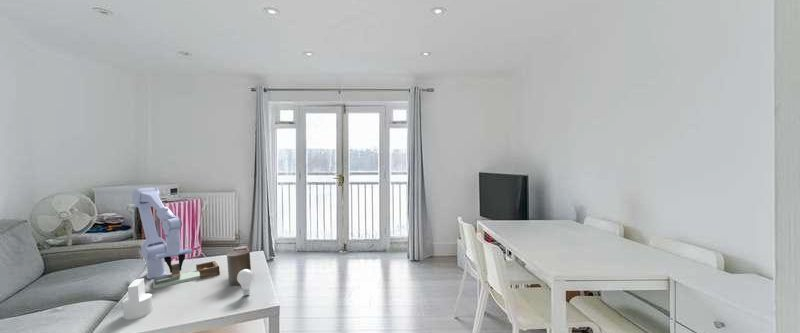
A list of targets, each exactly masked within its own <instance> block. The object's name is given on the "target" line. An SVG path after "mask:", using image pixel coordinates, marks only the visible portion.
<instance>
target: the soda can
mask: <svg viewBox="0 0 800 333" xmlns="http://www.w3.org/2000/svg"><path fill="white" fill-rule="evenodd" d="M237 250H249V251H250V249H249V246H248V245H244V244H243V245H238V246H235V247H234V248H233V251H237Z"/></svg>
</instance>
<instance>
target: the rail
mask: <svg viewBox="0 0 800 333" xmlns="http://www.w3.org/2000/svg"><path fill="white" fill-rule="evenodd" d="M170 277H172V273H170V274H167V275H164V276H159V277H155V278H153V280H154V283H155V285H157V284H162V283H166V282H171V281H175V280H179V277H174V278H170ZM165 278H170V279H165ZM161 279H165V280H161ZM157 280H161V281H157Z"/></svg>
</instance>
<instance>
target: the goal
mask: <svg viewBox="0 0 800 333" xmlns="http://www.w3.org/2000/svg"><path fill="white" fill-rule="evenodd" d="M195 266H196V270H195V271H198V270H199V272H200V278H199V279H206V278H209V277H215V276H219V275H220V265H218V263H217V262H216V261H215V260H213V261H208V262H203V263H198V264H195ZM204 268H206V269H204ZM214 275H215V276H214Z"/></svg>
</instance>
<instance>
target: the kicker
mask: <svg viewBox="0 0 800 333" xmlns="http://www.w3.org/2000/svg"><path fill="white" fill-rule="evenodd" d="M171 267H172V273H171V274H172V278H174V277H179V278H180V274H181V271H180V268H179V262H178V263H173V264H171Z"/></svg>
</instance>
